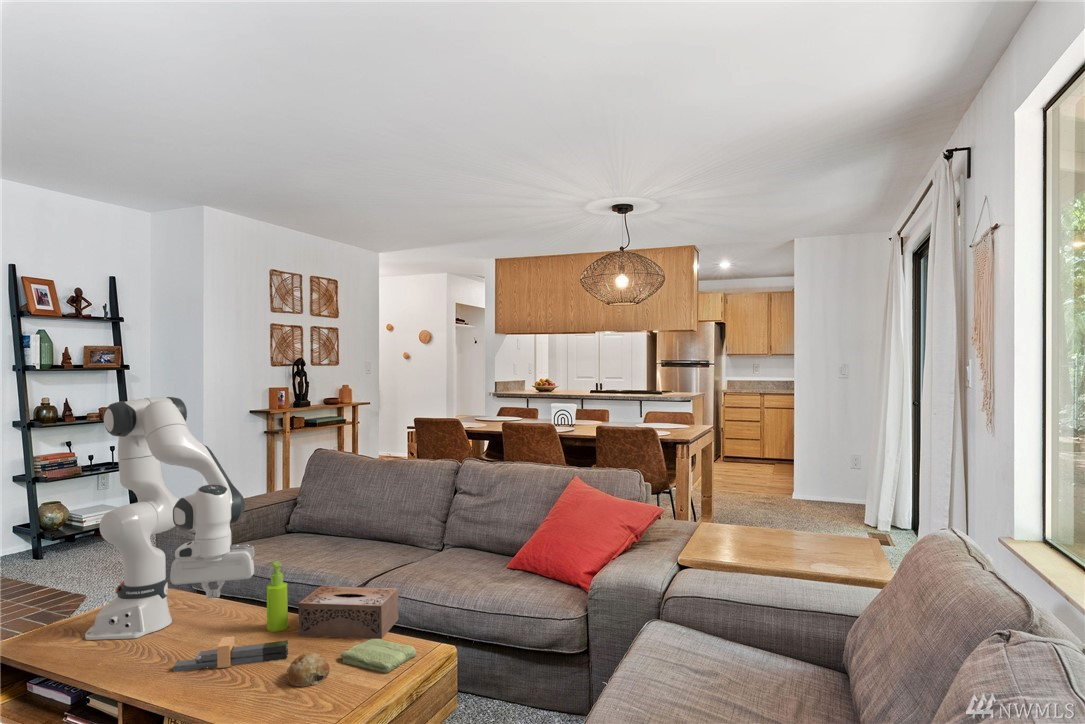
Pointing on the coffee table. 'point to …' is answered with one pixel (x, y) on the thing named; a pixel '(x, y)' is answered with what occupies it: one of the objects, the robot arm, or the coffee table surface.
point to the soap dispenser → (277, 601)
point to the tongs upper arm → (245, 650)
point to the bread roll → (308, 670)
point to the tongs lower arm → (195, 665)
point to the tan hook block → (225, 651)
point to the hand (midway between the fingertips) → (213, 597)
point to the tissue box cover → (348, 612)
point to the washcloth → (378, 655)
